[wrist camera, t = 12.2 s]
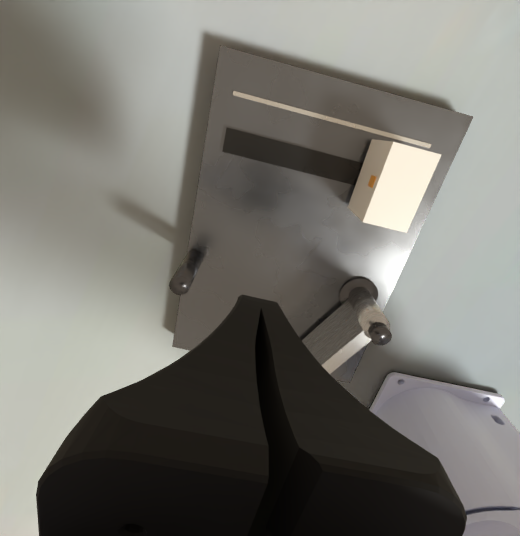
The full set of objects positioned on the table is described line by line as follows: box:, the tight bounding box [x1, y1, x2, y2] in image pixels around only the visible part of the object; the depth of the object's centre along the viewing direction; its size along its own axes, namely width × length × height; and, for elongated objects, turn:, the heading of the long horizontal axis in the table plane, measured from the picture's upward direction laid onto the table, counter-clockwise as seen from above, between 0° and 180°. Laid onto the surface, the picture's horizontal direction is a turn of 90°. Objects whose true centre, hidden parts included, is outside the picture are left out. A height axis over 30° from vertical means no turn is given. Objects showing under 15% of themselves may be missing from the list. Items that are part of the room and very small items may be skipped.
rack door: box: [302, 287, 390, 374], centre depth 20 cm, size 10×1×3 cm, turn 139°
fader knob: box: [348, 139, 441, 233], centre depth 16 cm, size 2×4×3 cm, turn 166°
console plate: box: [169, 45, 473, 383], centre depth 18 cm, size 13×18×6 cm
